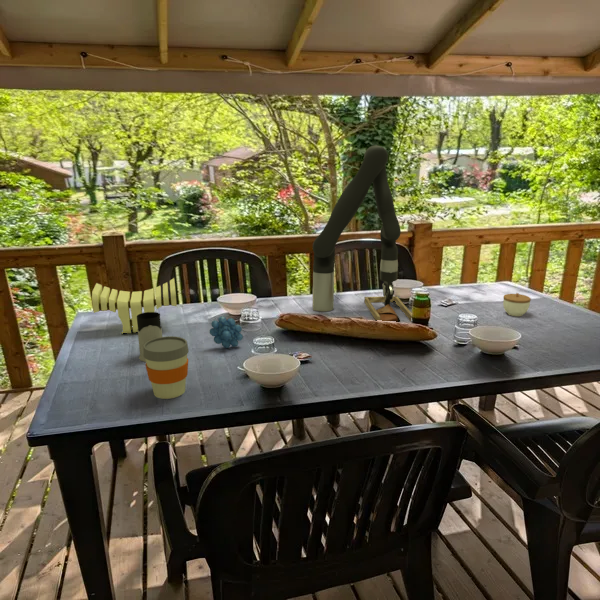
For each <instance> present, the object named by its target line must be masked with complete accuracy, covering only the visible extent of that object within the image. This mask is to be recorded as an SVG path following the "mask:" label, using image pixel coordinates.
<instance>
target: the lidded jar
mask: <svg viewBox="0 0 600 600" xmlns="http://www.w3.org/2000/svg"><path fill="white" fill-rule="evenodd" d="M531 299H532V298H531V297H530V296H528V295H525V294H519V293H518V292H516V293H507V294H504V295H503V301H502V303H503V309H504V311H505V312H506V314H507V315H509V316H512V317H522V316H524V315H525V314H526V313H527V312H528V310H529V309H530V304H531V301H532V300H531Z"/></svg>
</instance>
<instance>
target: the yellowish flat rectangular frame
mask: <svg viewBox="0 0 600 600" xmlns="http://www.w3.org/2000/svg"><path fill="white" fill-rule="evenodd" d="M363 300H364V304H365V306H366V307H367V309H368V310H369V312H370V314H371V315H372V317H373V318H374V320H375V321H376V320H380V316H379V314H378V313H377V311H376V310H377V309H376V308H375V307H374V305H373V303H385V299H384V296H364V299H363ZM393 301H395V302H396V303H395V302H393ZM390 303H395V304H396V305H397V307H398V306H399V307H400V308H399V307H398V308H399V309H400V310H401V311H402V312H404V313H405V314H404V313H403V314H404V315H405V316H406V318H407V317H408V318H409V319H408V320H409V321H410V322H411V318H412V314H413V313H412V311H411V310H409V308H408V307H407V306H406V305H405V304H404V303H403V301H402V300H401V299H400V297H398V296H397V295H393V298H392V300H390Z"/></svg>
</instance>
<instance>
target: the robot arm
mask: <svg viewBox="0 0 600 600" xmlns="http://www.w3.org/2000/svg"><path fill="white" fill-rule="evenodd" d="M388 159H389V154H388V152H387V150H386V149H385V148H384V147H383V146H380V145H378V144H377V145H376V144H375V145H371V146H369V147H368V148H366V150H365V152H364V155H363V161H362V163H361V165H360V168H358V171H357V172H356V174H355V175H354V177H353V178H352V179H351V180H350V182H349V183H347V184H348V185H347V186H346V187H345V189H344V190H343V191H342V192H341V194H340V196H339V198H338V199H337V201H336V203H335V205H334V207H333V209H332V212H331V214H330V216H329V218H328V221H327V223H326V225H325V226H324V228H323V229H322V230H321V232H320V233H319V234H318V236H316V237H315V239H314V240H313V243H312V251H313V265H312V266H313V267H312V270H313V271H312V272H313V273H312V310H313V311H315V312H330V311H332V310H334V306H335V303H334V302H335V301H334V298H335V297H334V295H335V294H334V293H335V288H334V287H335V263H336V262H335V261H336V259H335V258H336V245H337V243H338V242H339V241H338V240H339V238H340V236H341V235H342V233H343V231H345V229H346V228H347V227H348V225H349V224H350V222H351V221H352V219H353V218H354V217H355V216H356V214H357V212H358V211H359V209H360V207H361V205H362V204H363V201H364V199H365V198H366V196H367V194H368V192H369V190H370V188H371V185H372V186H373V194H374V199H375V204H376V208H377V214H378V217H379V219H380V220H381V224H382V226H381V228H380V246H381V251H380V252H381V253H380V257H381V259H380V265H379V267H380V268H379V280H380V281H382V282H383V283H382V284H381V287H382V294H383V295H382V297H384V299H385V302H384V307H385V306H386V305H387V304H389V305H390V306H391V302H390V300H392V298H393V296H395V290H394V289H395V288H394V282H396V281H397V280H398V269H399V268H398V267H399V262H398V258H399V257H398V255H399V249H398V246H397V244H396V243H397V241H398V240H399V238H400V237H401V233H402V231H401V226H400V223H399V220H398V217H397V214H396V209H395V204H394V199H393V195H392V191H391V188H390V184H389V180H388V177H387V169H386V167H387V162H388Z"/></svg>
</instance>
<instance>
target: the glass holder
mask: <svg viewBox="0 0 600 600" xmlns="http://www.w3.org/2000/svg"><path fill="white" fill-rule="evenodd" d="M161 323H162V322H161V314H160V313H159V312H157V311H155V312H145V313H144V312H142V313H141V314H139V315H137V325H138V329H137V330H138V333H137V339H138V349H139V356H138V360H139V359H140V360H139V361H140V362H144V363H146V359H145V358H144V356H143V349H144V344H145V343H146V342H148V341H150V340H152V339H155V338H160V337H163V329H162V324H161Z"/></svg>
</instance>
